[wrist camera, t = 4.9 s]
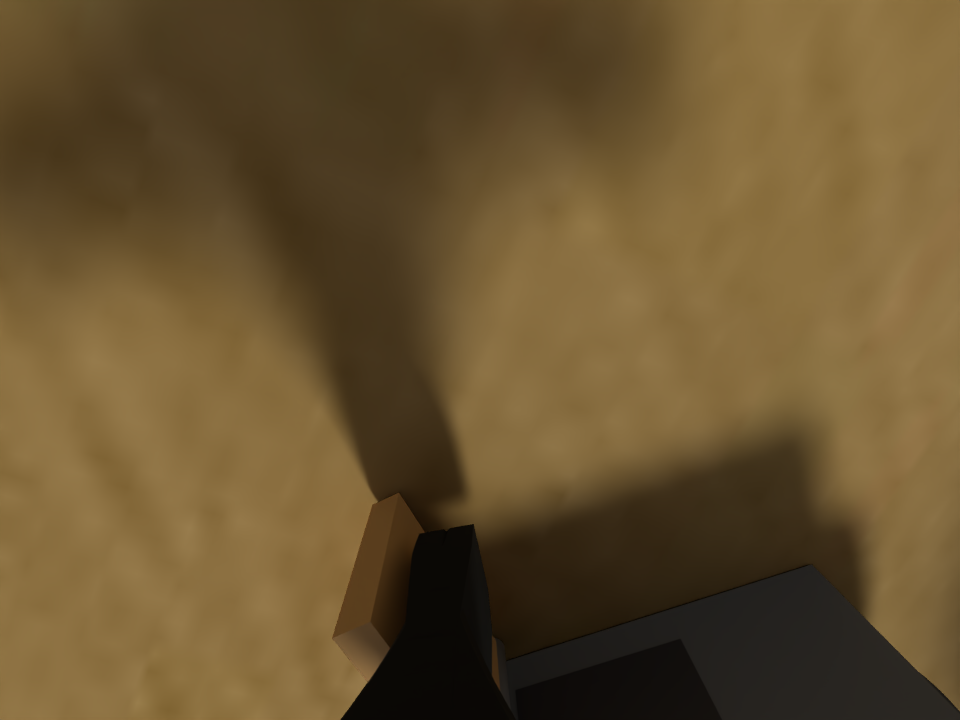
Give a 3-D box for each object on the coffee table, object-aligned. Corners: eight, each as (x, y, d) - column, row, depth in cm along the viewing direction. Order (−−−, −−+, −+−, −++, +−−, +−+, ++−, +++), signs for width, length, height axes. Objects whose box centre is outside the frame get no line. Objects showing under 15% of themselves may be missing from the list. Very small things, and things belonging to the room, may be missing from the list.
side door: (370, 503, 12) (325, 645, 8) (402, 488, 12) (374, 624, 8) (480, 665, 14) (488, 843, 10) (510, 654, 14) (529, 828, 10)
